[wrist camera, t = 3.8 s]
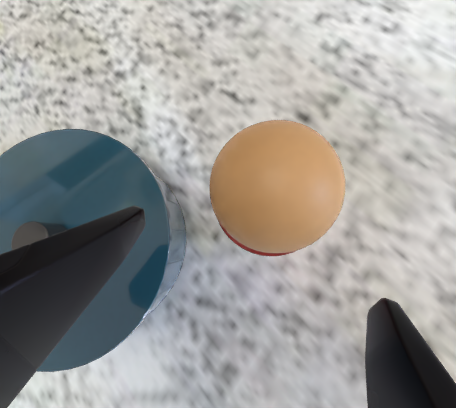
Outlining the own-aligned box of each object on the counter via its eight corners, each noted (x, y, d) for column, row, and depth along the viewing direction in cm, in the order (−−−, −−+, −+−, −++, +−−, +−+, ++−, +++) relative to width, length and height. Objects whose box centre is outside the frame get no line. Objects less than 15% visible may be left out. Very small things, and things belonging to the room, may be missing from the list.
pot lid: (68, 418, 14) (23, 460, 11) (-70, 257, 16) (-133, 260, 14) (223, 223, 14) (216, 219, 12) (67, 97, 17) (33, 71, 14)
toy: (255, 263, 18) (259, 334, 4) (220, 214, 19) (134, 152, 5) (305, 226, 18) (454, 189, 4) (267, 179, 19) (298, 29, 5)
